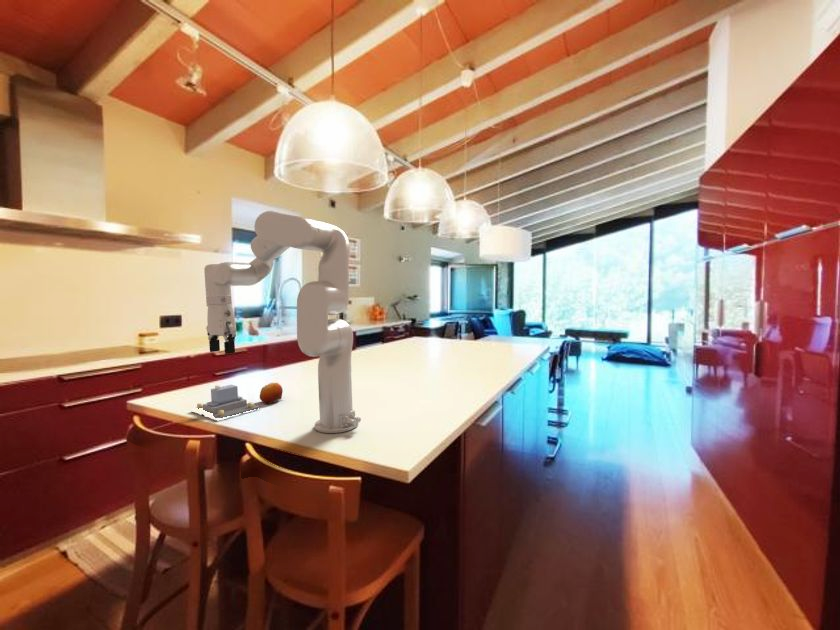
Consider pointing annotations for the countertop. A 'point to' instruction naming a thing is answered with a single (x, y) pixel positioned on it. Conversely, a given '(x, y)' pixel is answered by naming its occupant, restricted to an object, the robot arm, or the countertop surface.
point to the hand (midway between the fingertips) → (222, 352)
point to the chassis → (228, 408)
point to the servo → (224, 395)
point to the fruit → (271, 393)
